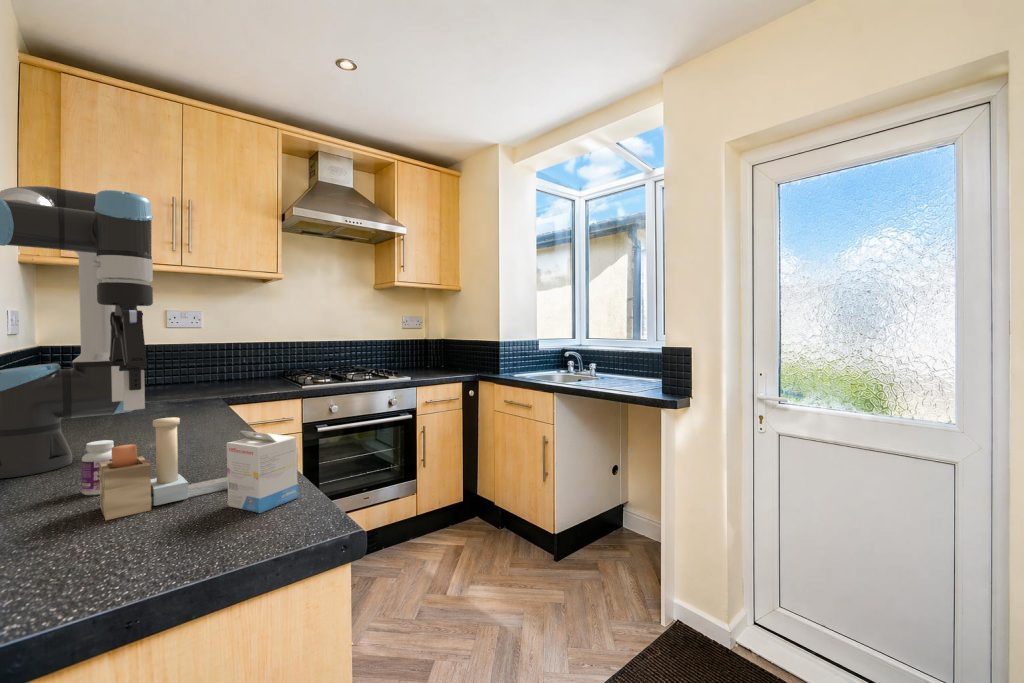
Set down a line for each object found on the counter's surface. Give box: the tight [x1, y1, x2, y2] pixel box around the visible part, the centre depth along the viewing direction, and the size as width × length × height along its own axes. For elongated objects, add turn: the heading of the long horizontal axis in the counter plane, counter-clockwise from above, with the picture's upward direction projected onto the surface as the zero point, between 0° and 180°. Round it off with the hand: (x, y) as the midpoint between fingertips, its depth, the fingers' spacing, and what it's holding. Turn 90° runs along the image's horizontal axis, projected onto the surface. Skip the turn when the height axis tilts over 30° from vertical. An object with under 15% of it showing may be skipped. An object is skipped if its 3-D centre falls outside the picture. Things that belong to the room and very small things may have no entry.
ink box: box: [226, 430, 299, 514], centre depth 85 cm, size 9×8×13 cm
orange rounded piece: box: [112, 444, 138, 469], centre depth 81 cm, size 3×3×4 cm
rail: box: [151, 476, 228, 507], centre depth 89 cm, size 6×15×3 cm, turn 137°
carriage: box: [151, 416, 189, 506], centre depth 86 cm, size 7×5×15 cm
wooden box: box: [99, 455, 152, 521], centre depth 82 cm, size 8×6×8 cm
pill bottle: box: [81, 439, 115, 496], centre depth 90 cm, size 5×5×10 cm
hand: (127, 405), depth 82 cm, fingers open, 12 cm apart
